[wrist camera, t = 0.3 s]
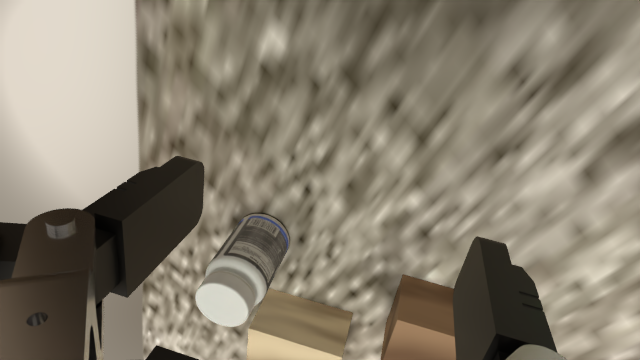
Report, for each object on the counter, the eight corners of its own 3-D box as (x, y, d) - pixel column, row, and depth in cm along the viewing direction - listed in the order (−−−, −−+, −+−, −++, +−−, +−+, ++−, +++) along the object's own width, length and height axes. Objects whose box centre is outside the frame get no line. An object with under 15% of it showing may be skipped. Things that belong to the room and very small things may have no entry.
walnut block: (402, 273, 34) (397, 319, 30) (476, 294, 34) (481, 345, 29) (386, 322, 38) (379, 370, 33) (453, 342, 37) (455, 394, 32)
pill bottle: (259, 263, 38) (216, 337, 31) (228, 222, 36) (176, 290, 29) (301, 247, 36) (266, 323, 28) (270, 203, 34) (225, 272, 27)
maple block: (269, 286, 39) (248, 328, 35) (353, 311, 38) (341, 357, 34) (264, 342, 43) (244, 385, 39) (339, 366, 42) (327, 413, 38)
